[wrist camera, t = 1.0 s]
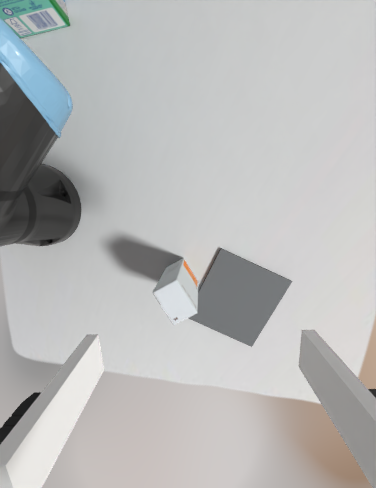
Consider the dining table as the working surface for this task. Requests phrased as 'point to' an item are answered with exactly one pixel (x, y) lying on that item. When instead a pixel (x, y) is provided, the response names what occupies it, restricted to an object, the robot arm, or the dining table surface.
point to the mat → (238, 297)
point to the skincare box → (177, 292)
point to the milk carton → (33, 16)
